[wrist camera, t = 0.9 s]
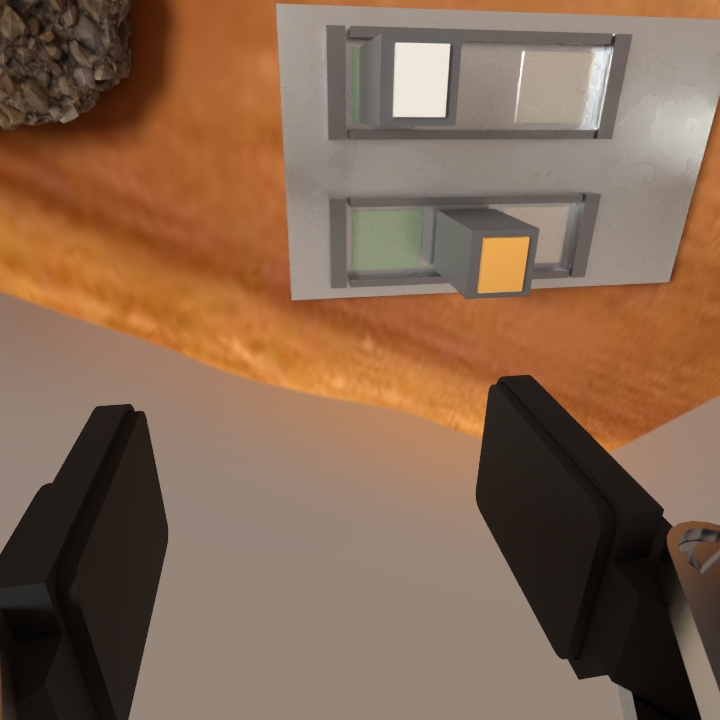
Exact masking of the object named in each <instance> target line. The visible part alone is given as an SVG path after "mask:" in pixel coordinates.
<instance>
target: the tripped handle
mask: <svg viewBox="0 0 720 720" xmlns="http://www.w3.org/2000/svg"><path fill="white" fill-rule="evenodd" d="M539 230H540V229H539V228H537V227H535V226H532V225H530V224H528V223H526V222H523V221H521V220H519V219H516V218H514V217H512V216H510V215H507V214H505V213H503V212H500V211H498V210H496V209H458V210H437V225H436V239H435V254H434V269H435V270H436V271H437V272H438V273H439V274H440V275H441V276H442V277H443V278H444V279H445V280H446V281H448V282H449V283H450V284H451V285H452V286H453V287H454V288H455V289H456V290H457V291H458V292H459V293H460V294H461V295H462V296H463V297H464V298H465V299H475V298H495V297H515V296H530V289H531V282H532V276H533V269H534V263H535V256H536V250H537V243H538V237H539Z"/></svg>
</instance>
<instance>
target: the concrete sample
mask: <svg viewBox="0 0 720 720" xmlns="http://www.w3.org/2000/svg"><path fill="white" fill-rule="evenodd" d="M130 7H131V1H130V0H0V127H2V128H3V129H5V130H9V131H14V130H15V129H17V128H18V127H19V126H20V125H21V124H25V125H30V126H39V125H41V124H44V123H55V122H58V121H61V122H62V123H66V122H70V121H73V120H75V119H76V118H77V117H78V116H79V113H83V112H88V111H89V110H90V109H91V108H93V107H94V106H96V103H97V100H98V99H99V98H100V94H99V92H103V91H110V90H111V88H112V87H113V86H115V85H117V84H119V82H120V80H121V78H127V77H129V73H130V70H131V66H132V63H133V62H132V50H131V48H130V47H129V46H128V38H129V37H130V35H131V33H132V25H131V23H130V21H129V19H128V18H127V14H128V11H129V9H130Z"/></svg>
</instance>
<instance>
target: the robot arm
mask: <svg viewBox="0 0 720 720" xmlns="http://www.w3.org/2000/svg"><path fill="white" fill-rule="evenodd" d="M476 501H477V505H478V508H479V510H480V512H481V514H482V516H483V518H484V520H485V522H486V524H487V526H488V527H489V529H490V531H491V533H492V535H493V537H494V539H495V541H496V542H497V544H498V546H499V548H500V550H501V552H502V554H503V556H504V557H505V559H506V561H507V563H508V565H509V567H510V569H511V571H512V572H513V574H514V576H515V578H516V580H517V582H518V584H519V586H520V587H521V589H522V591H523V593H524V595H525V597H526V598H527V601H528V602H529V604H530V606H531V608H532V610H533V612H534V614H535V615H536V617H537V619H538V621H539V623H540V625H541V627H542V629H543V631H544V632H545V634H546V636H547V638H548V640H549V642H550V643H551V646H552V647H553V649H554V651H555V652H556V654H557V655H558V656H559V657H560V658H561V659H568V660H569V663H570V664H571V666H572V668H573V670H574V672H575V673H576V675H577V677H578V679H585V678H591V677H597V676H603V675H608V676H609V677H610V679H611V681H613V682H614V683H616V684H618V690H619V695H620V701H621V706H622V711H623V717H624V720H720V525H717V524H713V523H708V522H699V521H690V522H684V523H679V524H677V525H676V526H674V527H673V526H672V525H671V524H670V523H669V522H668V521H667V520H666V519H665V518H664V517H663V516H662V515H663V511H664V509H663V508H662V507H661V506H660V505H659V504H658V503H657V502H656V501H655V500H654V499H653V498H652V497H651V496H650V495H649V494H648V493H647V492H646V491H645V490H644V489H643V488H642V487H641V486H640V485H639V484H638V483H637V482H636V481H635V480H634V479H633V478H632V477H631V476H630V475H629V474H628V473H627V472H626V471H625V470H624V469H623V468H622V467H621V466H620V465H619V464H618V463H617V462H616V460H614V459H613V458H612V456H611V455H610V454H609V453H608V452H607V451H606V450H605V449H604V448H603V447H602V446H601V445H600V444H599V443H598V442H597V441H596V440H595V439H594V438H593V437H592V436H591V435H590V434H589V433H588V432H587V431H586V430H585V429H584V428H583V427H582V426H581V425H580V424H579V423H578V422H577V421H576V420H575V419H574V418H573V417H572V416H571V415H570V414H569V413H568V412H567V411H566V410H565V409H564V408H563V407H562V406H561V405H560V404H559V403H558V402H557V401H556V400H555V399H554V398H553V397H552V396H551V395H550V394H549V393H548V392H547V391H546V390H545V389H544V388H543V387H542V386H541V385H540V384H539V383H538V382H537V381H536V380H535V379H534V378H533V377H532V376H530V375H519V376H506V377H501V378H499V380H498V382H497V384H494V385H491V386H490V388H489V393H488V400H487V408H486V416H485V424H484V431H483V439H482V447H481V455H480V463H479V470H478V478H477V486H476ZM167 543H168V524H167V519H166V514H165V509H164V504H163V499H162V494H161V490H160V484H159V479H158V474H157V469H156V464H155V459H154V454H153V449H152V444H151V439H150V434H149V429H148V425H147V419H146V415H145V413H144V412H143V411H136V412H135V411H134V408H133V406H132V405H131V404H124V405H109V406H98V407H96V408H95V409H94V410H93V412H92V414H91V416H90V418H89V419H88V421H87V423H86V425H85V426H84V428H83V430H82V432H81V433H80V435H79V437H78V439H77V441H76V442H75V444H74V446H73V447H72V449H71V451H70V453H69V455H68V456H67V458H66V460H65V462H64V464H63V465H62V467H61V469H60V470H59V472H58V474H57V476H56V477H55V479H54V481H53V483H48V484H46V485H44V486H42V487H41V488H40V490H39V491H38V492H37V493H36V495H35V497H34V498H33V500H32V502H31V503H30V505H29V507H28V509H27V510H26V512H25V514H24V515H23V517H22V519H21V520H20V522H19V524H18V526H17V527H16V529H15V530H14V532H13V534H12V536H11V537H10V539H9V541H8V542H7V544H6V546H5V547H4V549H3V551H2V552H1V554H0V720H128V718H129V714H130V709H131V705H132V701H133V696H134V691H135V687H136V683H137V678H138V674H139V670H140V665H141V660H142V656H143V651H144V647H145V643H146V638H147V634H148V629H149V625H150V620H151V615H152V611H153V607H154V602H155V598H156V593H157V589H158V584H159V580H160V575H161V571H162V566H163V561H164V557H165V553H166V549H167Z"/></svg>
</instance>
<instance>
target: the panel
mask: <svg viewBox="0 0 720 720" xmlns="http://www.w3.org/2000/svg"><path fill="white" fill-rule="evenodd" d="M275 11H276V30H277V49H278V67H279V86H280V104H281V123H282V142H283V160H284V179H285V197H286V216H287V234H288V253H289V272H290V290H291V298H292V300H307V299H328V298H349V297H369V296H390V295H411V294H432V293H453V292H458V291H457V290H456V289H455V288H454V287H453V286H452V285H451V284H450V283H449V282H448V281H446V280H445V279H444V278H443V277H442V276H441V275H440V274H439V273H438V272H437V271H436V270H435V269H434V254H435V239H436V225H437V210H458V209H496V210H498V211H500V212H503V213H505V214H507V215H510V216H512V217H514V218H516V219H519V220H521V221H523V222H526V223H528V224H530V225H532V226H535V227H537V228H539V229H540V230H539V237H538V243H537V250H536V256H535V263H534V269H533V276H532V282H531V289H537V288H558V287H579V286H600V285H621V284H642V283H663V282H669V280H670V277H671V273H672V269H673V266H674V262H675V258H676V254H677V251H678V247H679V243H680V240H681V236H682V232H683V229H684V225H685V221H686V218H687V214H688V210H689V206H690V203H691V199H692V195H693V192H694V188H695V184H696V181H697V177H698V173H699V170H700V166H701V162H702V159H703V155H704V151H705V147H706V144H707V140H708V136H709V133H710V129H711V125H712V122H713V118H714V114H715V111H716V107H717V103H718V99H719V96H720V20H718V19H691V18H663V17H635V16H607V15H579V14H551V13H524V12H496V11H468V10H440V9H412V8H384V7H357V6H329V5H301V4H276V9H275ZM380 33H404V34H439V35H463V36H462V48H461V61H460V74H459V87H458V100H457V113H456V126H379V125H372V124H366V123H359V47H360V46H362V45H363V44H365V43H366V42H368V41H370V40H371V39H373V38H374V37H376V36H377V35H379V34H380Z"/></svg>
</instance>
